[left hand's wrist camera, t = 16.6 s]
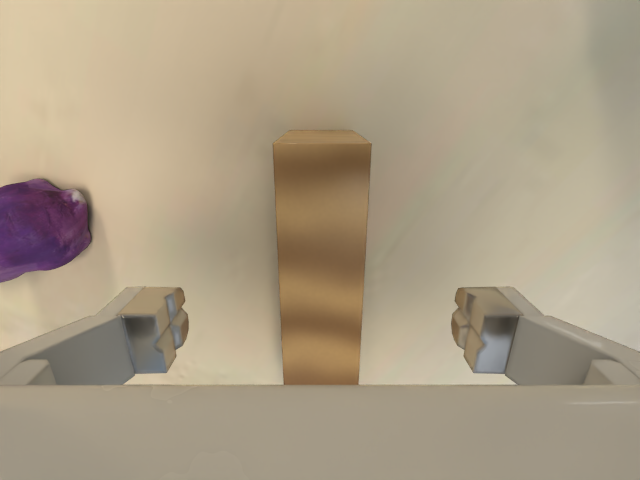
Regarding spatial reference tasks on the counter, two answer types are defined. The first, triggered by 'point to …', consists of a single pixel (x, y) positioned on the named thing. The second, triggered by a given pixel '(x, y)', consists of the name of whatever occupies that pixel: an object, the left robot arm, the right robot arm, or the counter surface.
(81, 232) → the figurine
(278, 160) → the box
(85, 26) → the counter surface
